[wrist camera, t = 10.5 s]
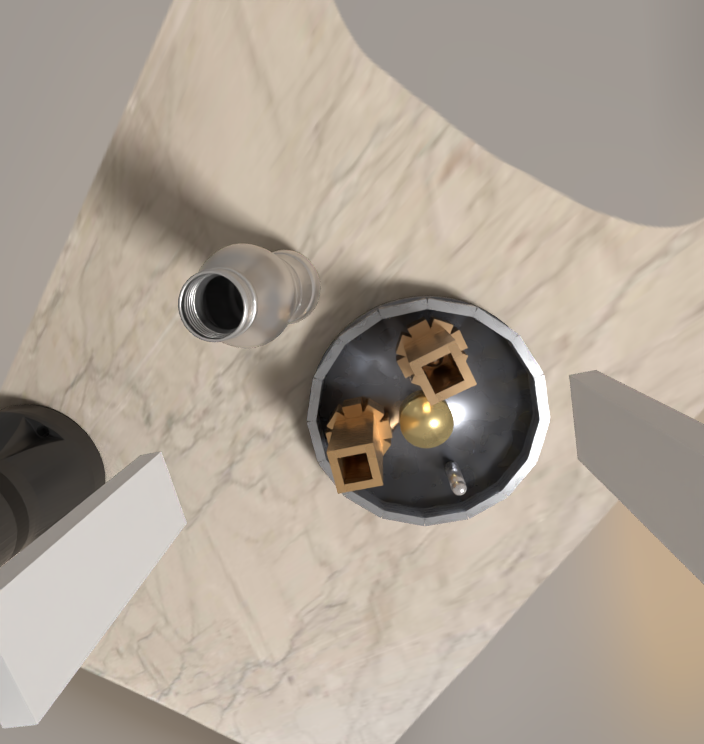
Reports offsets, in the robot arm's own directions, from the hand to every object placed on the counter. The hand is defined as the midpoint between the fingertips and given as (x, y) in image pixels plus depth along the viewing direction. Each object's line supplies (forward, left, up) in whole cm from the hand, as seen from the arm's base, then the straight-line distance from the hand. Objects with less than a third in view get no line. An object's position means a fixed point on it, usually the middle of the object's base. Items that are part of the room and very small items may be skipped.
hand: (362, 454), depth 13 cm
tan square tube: (+5, -3, -28) cm, 28 cm away
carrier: (+3, -10, -29) cm, 31 cm away
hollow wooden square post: (-4, -10, -28) cm, 29 cm away
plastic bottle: (-7, +5, -29) cm, 30 cm away
